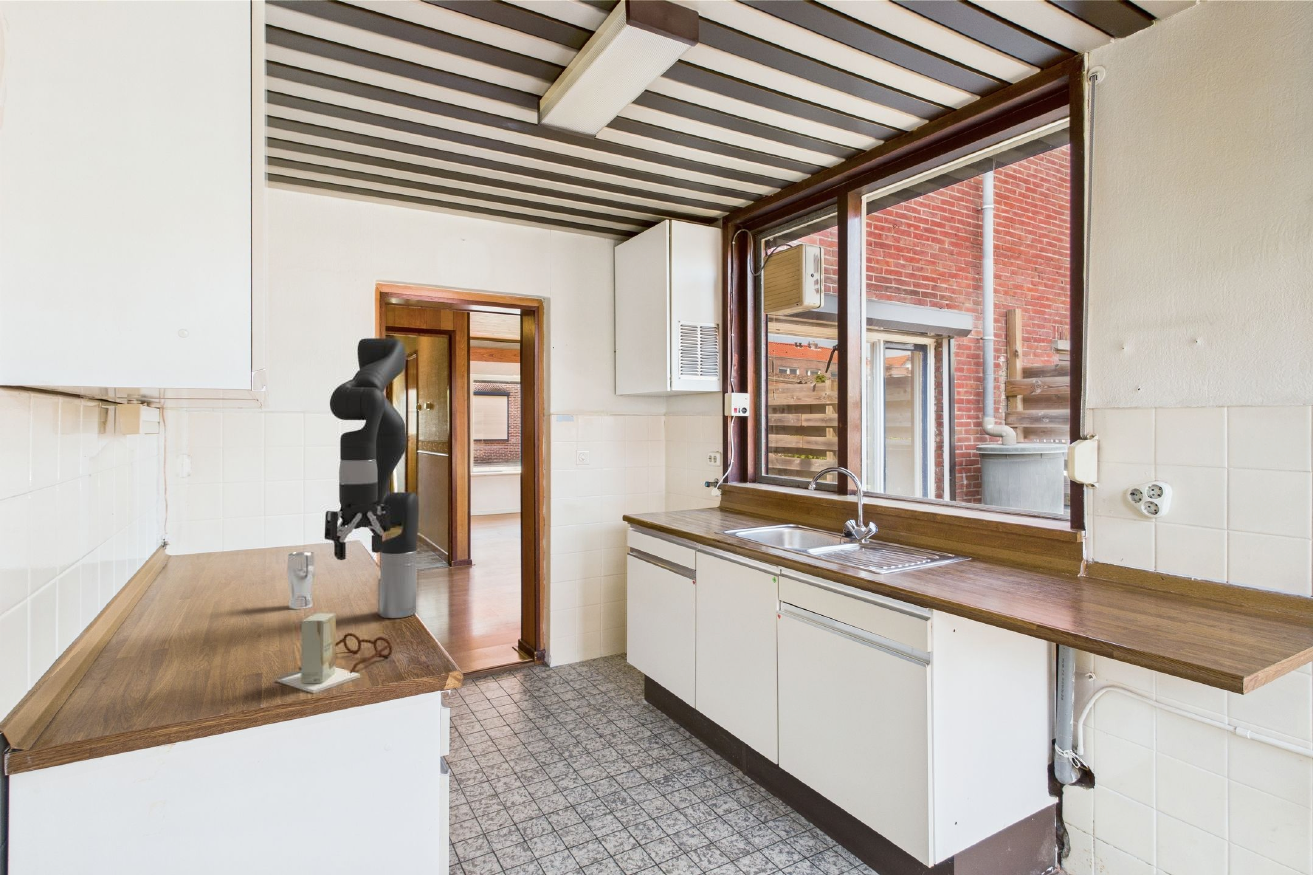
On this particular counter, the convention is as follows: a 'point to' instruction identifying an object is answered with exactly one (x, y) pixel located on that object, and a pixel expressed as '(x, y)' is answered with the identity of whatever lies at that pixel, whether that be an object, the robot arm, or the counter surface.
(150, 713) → the counter surface
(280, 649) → the counter surface
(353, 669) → the glasses
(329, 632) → the skincare box
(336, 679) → the board
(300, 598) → the beer glass
